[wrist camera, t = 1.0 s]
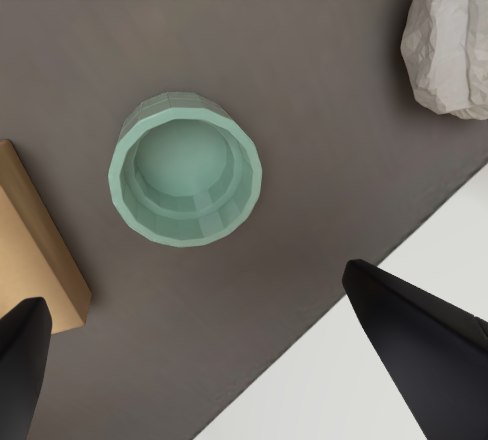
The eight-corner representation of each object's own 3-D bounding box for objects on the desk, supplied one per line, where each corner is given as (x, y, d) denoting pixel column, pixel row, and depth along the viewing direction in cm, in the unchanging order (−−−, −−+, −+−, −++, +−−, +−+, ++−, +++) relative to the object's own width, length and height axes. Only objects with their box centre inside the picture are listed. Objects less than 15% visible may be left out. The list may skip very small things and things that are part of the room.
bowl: (127, 208, 20) (120, 253, 16) (109, 87, 16) (95, 105, 12) (235, 201, 22) (255, 241, 18) (242, 92, 18) (269, 109, 14)
